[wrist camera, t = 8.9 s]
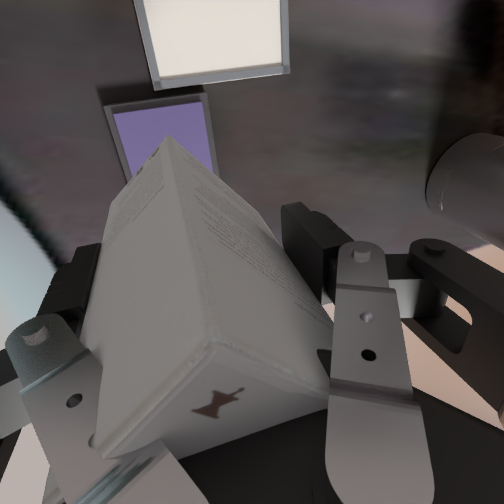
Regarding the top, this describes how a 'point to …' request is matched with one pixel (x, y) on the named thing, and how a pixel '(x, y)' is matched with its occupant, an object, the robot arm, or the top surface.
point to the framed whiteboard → (213, 40)
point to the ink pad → (162, 128)
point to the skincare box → (196, 318)
